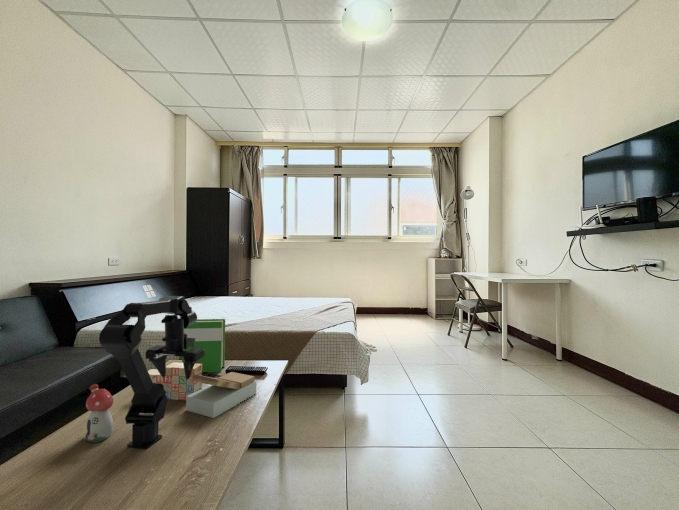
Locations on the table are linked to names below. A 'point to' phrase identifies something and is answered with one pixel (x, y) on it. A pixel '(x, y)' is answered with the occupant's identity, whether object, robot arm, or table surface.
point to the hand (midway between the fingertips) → (175, 377)
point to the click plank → (215, 381)
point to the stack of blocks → (177, 380)
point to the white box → (221, 395)
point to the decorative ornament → (99, 415)
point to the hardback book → (208, 342)
